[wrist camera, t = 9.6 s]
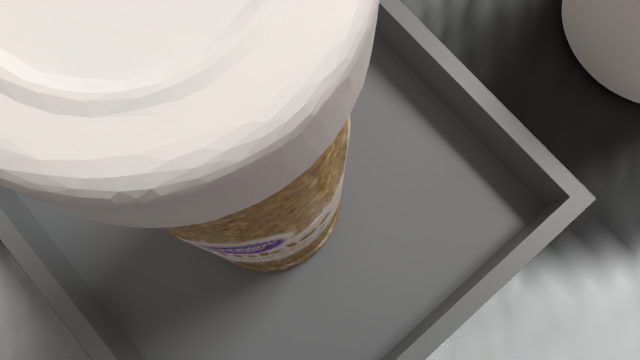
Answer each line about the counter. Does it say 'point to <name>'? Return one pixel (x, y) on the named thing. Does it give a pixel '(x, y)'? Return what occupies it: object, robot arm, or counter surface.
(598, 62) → the can
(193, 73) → the sprinkles bottle
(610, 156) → the counter surface
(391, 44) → the tray
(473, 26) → the counter surface
